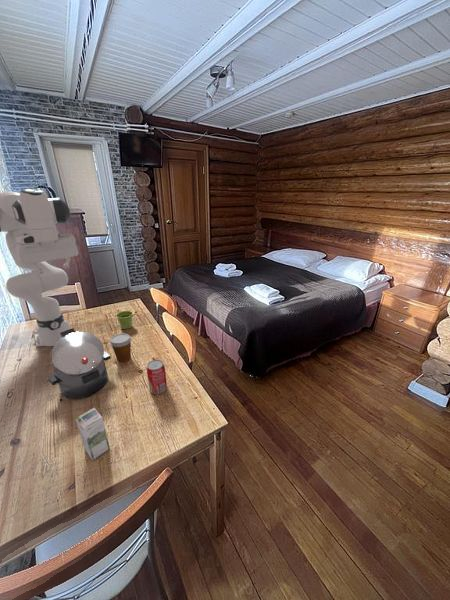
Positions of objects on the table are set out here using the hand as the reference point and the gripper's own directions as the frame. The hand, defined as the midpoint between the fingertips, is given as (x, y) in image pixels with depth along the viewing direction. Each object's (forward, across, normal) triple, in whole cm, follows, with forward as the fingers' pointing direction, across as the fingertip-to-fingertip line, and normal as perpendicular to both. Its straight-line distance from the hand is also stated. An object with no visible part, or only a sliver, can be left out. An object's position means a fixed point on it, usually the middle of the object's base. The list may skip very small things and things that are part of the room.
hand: (54, 270), depth 103 cm
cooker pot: (+47, +4, +15) cm, 49 cm away
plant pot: (+47, -33, -17) cm, 60 cm away
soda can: (+47, -15, +41) cm, 64 cm away
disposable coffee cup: (+47, -16, +11) cm, 51 cm away
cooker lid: (+30, +4, +16) cm, 34 cm away
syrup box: (+48, +14, +49) cm, 69 cm away
